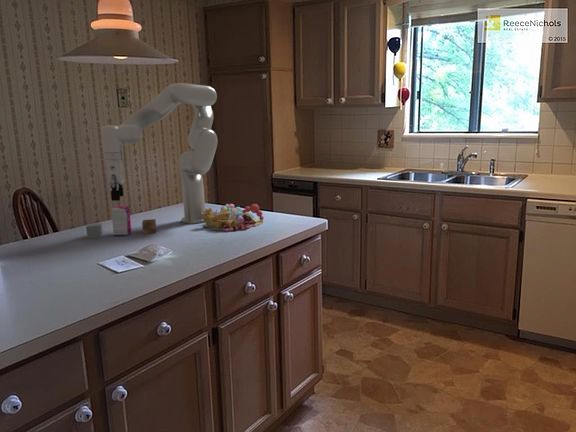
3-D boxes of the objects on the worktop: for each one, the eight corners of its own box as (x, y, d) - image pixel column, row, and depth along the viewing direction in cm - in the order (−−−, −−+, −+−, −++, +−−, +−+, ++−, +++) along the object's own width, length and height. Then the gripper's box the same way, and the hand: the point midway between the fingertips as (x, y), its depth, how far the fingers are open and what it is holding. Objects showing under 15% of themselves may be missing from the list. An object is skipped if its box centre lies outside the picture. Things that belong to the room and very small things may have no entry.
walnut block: (156, 230, 208) (155, 219, 207) (155, 233, 203) (154, 221, 202) (144, 231, 207) (143, 220, 206) (143, 234, 202) (142, 222, 201)
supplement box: (127, 235, 200) (124, 208, 197) (113, 236, 200) (110, 209, 198) (132, 232, 206) (129, 205, 203) (118, 232, 206) (115, 206, 203)
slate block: (102, 234, 204) (101, 223, 203) (100, 237, 199) (99, 225, 198) (90, 235, 203) (88, 223, 202) (87, 238, 198) (86, 226, 197)
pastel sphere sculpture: (236, 235, 197) (235, 213, 195) (193, 228, 209) (191, 208, 207) (270, 221, 218) (269, 201, 216) (229, 216, 230) (228, 197, 228)
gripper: (120, 158, 188) (124, 201, 192) (126, 154, 204) (129, 194, 208) (100, 159, 186) (104, 202, 190) (107, 155, 203) (111, 195, 207)
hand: (117, 198), depth 199 cm, fingers open, 9 cm apart
